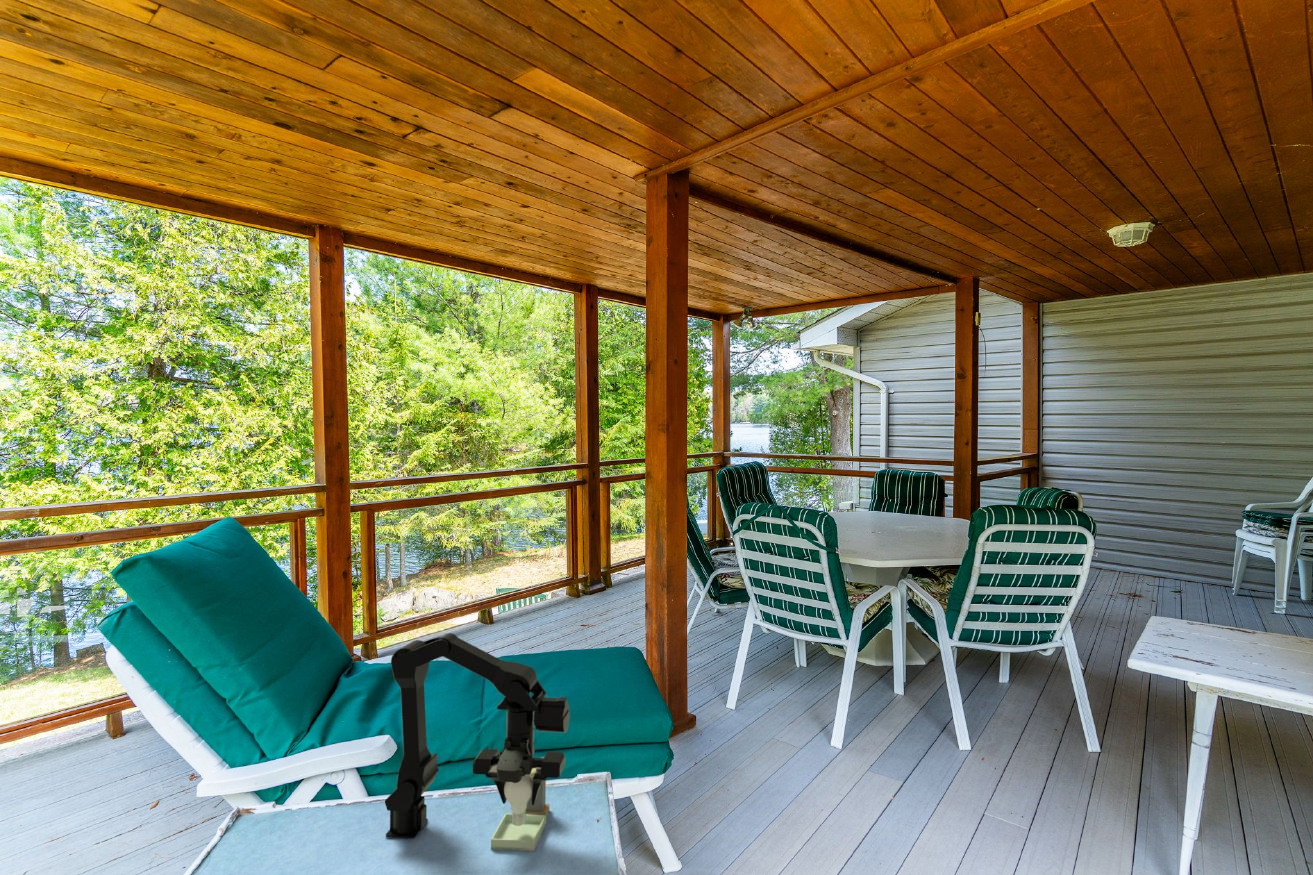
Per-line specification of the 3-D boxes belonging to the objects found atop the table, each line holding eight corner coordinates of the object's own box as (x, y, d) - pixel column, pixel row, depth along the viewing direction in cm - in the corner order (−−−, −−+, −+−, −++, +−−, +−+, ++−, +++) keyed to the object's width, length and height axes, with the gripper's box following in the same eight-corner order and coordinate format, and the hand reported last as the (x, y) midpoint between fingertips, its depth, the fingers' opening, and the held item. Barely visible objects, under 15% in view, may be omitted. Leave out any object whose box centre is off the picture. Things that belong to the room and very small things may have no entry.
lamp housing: (518, 818, 134) (519, 774, 134) (523, 809, 137) (524, 766, 138) (545, 819, 133) (545, 775, 134) (549, 810, 137) (549, 767, 137)
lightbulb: (526, 836, 124) (527, 781, 124) (498, 832, 125) (498, 778, 126) (538, 818, 130) (539, 766, 130) (511, 814, 131) (512, 763, 132)
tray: (490, 849, 123) (490, 839, 123) (505, 822, 132) (505, 813, 132) (534, 851, 123) (534, 841, 123) (545, 824, 132) (545, 815, 132)
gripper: (462, 745, 121) (461, 824, 120) (553, 749, 120) (552, 829, 119) (483, 721, 132) (481, 793, 132) (566, 724, 131) (565, 797, 130)
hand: (519, 803), depth 128 cm, fingers closed on lightbulb, 6 cm apart
